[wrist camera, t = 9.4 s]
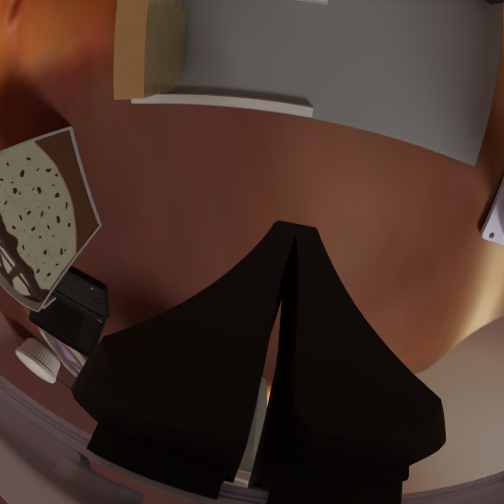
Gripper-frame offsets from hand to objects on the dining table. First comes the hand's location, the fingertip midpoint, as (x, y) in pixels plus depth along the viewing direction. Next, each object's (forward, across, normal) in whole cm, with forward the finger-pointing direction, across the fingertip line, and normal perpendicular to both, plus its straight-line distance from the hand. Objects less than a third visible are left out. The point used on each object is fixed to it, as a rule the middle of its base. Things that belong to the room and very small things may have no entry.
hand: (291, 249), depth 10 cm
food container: (+10, +20, +4) cm, 23 cm away
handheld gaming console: (+10, +24, +19) cm, 32 cm away
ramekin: (+10, +46, +46) cm, 66 cm away
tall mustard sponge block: (+7, +9, -7) cm, 13 cm away
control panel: (+9, 0, -12) cm, 15 cm away
